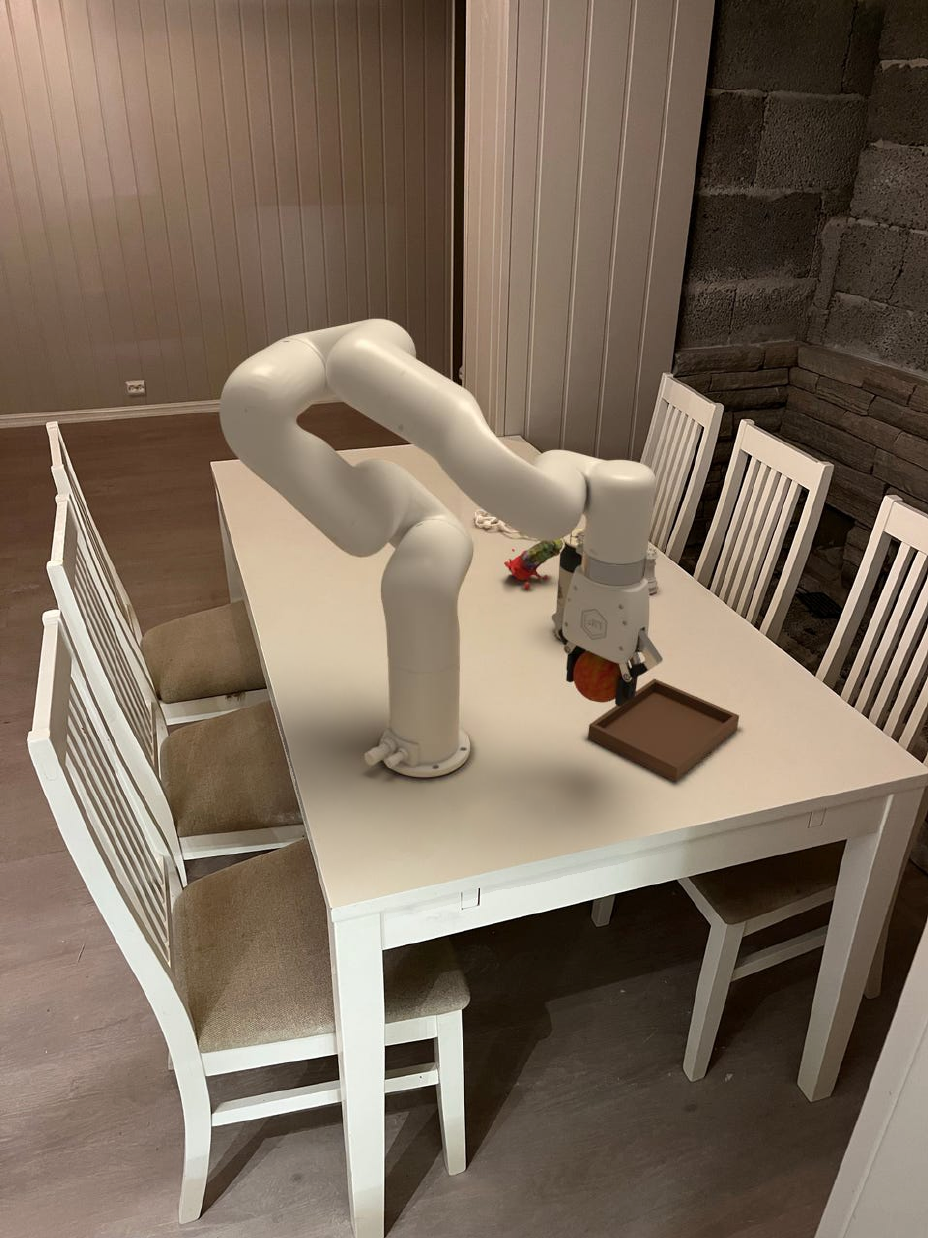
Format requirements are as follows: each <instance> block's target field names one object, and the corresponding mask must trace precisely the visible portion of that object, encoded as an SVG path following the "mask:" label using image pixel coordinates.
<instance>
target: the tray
mask: <svg viewBox="0 0 928 1238" xmlns="http://www.w3.org/2000/svg"><path fill="white" fill-rule="evenodd" d="M739 719H740V715H739V714H737V713H735V712H732V711H730V710H727V709H726V708H723V707H721V706H718V705H716V704H714V703H713V702H709V701H707V700H705V699H702V698H701V697H698V696H696V695H693V694H691V693H689V692H686V691H684V690H682V689H679V688H677V687H675V686H672V685H670V684H668V683H666V682H664V681H661V680H659V679H657V678H652V680H649V681H648V682H647V683H646V684H644V685H643V686H642V687H640V688H639V689H638V690H637V689H636V693H635V696H634V698H633V699H632V700H630V701H628V702H626V703H625V704H623V705H622V706H620V707H619V706H617V705H616V704H615V705H614V706H613V707H611V709H609V710H608V711H606V712H605V713H603V714H602V715H601V716H599V717H598V718H596V719H595V720H594V721H592V722H591V723H589V724H588V732H587V734H588V735H587V739H589V740H591V741H593V742H594V743H597V744H598V745H601V746H602V747H604V748H607V749H609V750H610V751H612V752H614V753H616V754H618V755H620V756H622V757H625V758H626V759H628V760H630V761H632V762H634V763H636V764H638V765H640V766H642V767H643V768H646V769H648V770H650V771H652V772H654V773H656V774H658V775H660V776H662V777H664V778H665V779H668V780H670V781H672V782H673V783H676V782H677V781H678V780H680V779H681V778H682V777H683V776H684V775H686V774H687V773H688V772H689V771H690V770H691V769H692V768H694V767H695V766H696V765H697V764H698V763H700V762H701V761H702V760H703V759H705V757H707V756H708V755H709V754H710V753H711V752H712V751H714V749H716V748H717V747H718V746H719V745H720V744H722V743H723V742H724V741H725V740H727V738H729V737H730V736H731V735H732V734H733V733H734V732H735V731H736V730H738V726H739Z"/></svg>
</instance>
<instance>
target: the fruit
mask: <svg viewBox="0 0 928 1238" xmlns="http://www.w3.org/2000/svg"><path fill="white" fill-rule="evenodd" d="M573 677H574V681H573V683H574V686H575V688H576V689H577V691H578V692H579V694H580V695H581V696H583V698H585V699H587V700H589V701H591V702H595V703H601V704H603V703H608V702H611V701H615V698H616V690H617V682H618V679H619V678H620V677H622V674H621V671H620V667H619V664H618V663H615V662H612V661H610V660H608V659H605V658H603V657H601V656H599V655H597V654H594V653H592V652H590V651H588V650H586V651H585V652H583V653H582V654H581V655H580V657H579V658H578V660H577V662H576V664H575V667H574V672H573Z"/></svg>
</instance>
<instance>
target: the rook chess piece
mask: <svg viewBox="0 0 928 1238" xmlns="http://www.w3.org/2000/svg"><path fill="white" fill-rule="evenodd" d="M657 552H658V551H657V549H656V548H653V549H652V547H648V550H647V558H646V565H645V573H644V579H646V580H647V581H648V589H649V596H650V595H654V594H655V593H656V592H657V591H658V586H659V585H658V583H659V582H658V581H657V577H656V575H655V573H656V572H655V566H656V565H657V562H656V560H657V559H658V558H659V555H658V553H657Z"/></svg>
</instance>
